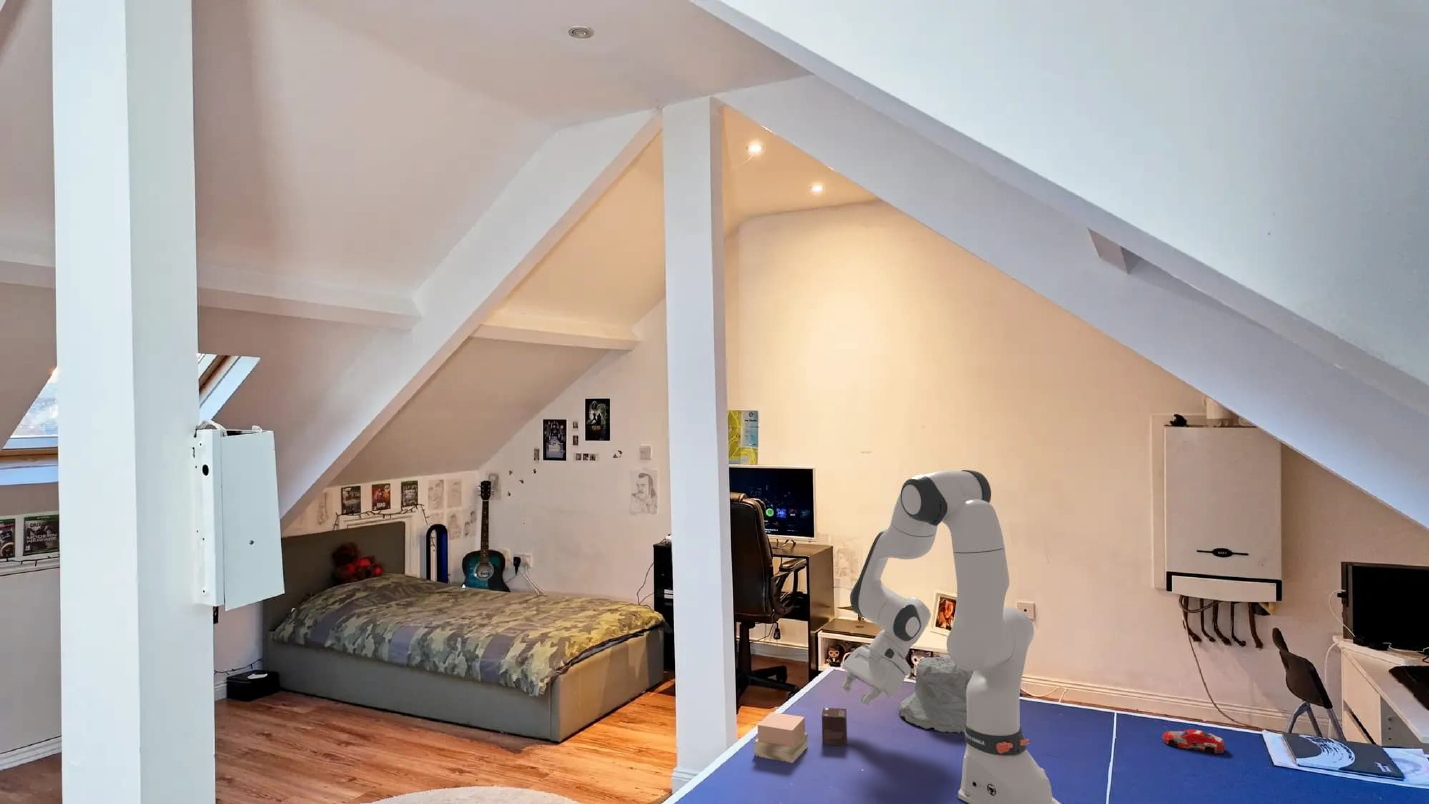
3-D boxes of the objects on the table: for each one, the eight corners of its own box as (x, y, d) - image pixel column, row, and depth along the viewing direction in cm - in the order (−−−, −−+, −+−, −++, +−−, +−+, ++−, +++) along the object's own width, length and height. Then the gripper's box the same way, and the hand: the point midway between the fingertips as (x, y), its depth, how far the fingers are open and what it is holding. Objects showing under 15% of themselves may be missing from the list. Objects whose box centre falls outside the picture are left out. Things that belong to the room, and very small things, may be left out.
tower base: (807, 749, 208) (807, 732, 208) (792, 764, 199) (792, 748, 199) (770, 742, 213) (770, 726, 213) (754, 757, 204) (754, 741, 204)
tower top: (805, 733, 208) (804, 717, 208) (792, 747, 200) (792, 730, 200) (771, 727, 212) (770, 712, 212) (758, 741, 204) (757, 725, 204)
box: (846, 746, 208) (845, 717, 208) (821, 745, 209) (821, 716, 209) (847, 736, 214) (846, 708, 214) (823, 735, 215) (823, 707, 215)
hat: (894, 728, 219) (893, 671, 219) (902, 697, 241) (900, 646, 241) (998, 738, 211) (997, 679, 211) (996, 705, 233) (995, 652, 233)
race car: (1161, 746, 205) (1161, 729, 205) (1163, 738, 209) (1163, 722, 209) (1224, 757, 198) (1223, 740, 198) (1225, 749, 202) (1224, 732, 202)
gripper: (856, 635, 226) (825, 676, 223) (900, 657, 207) (867, 702, 204) (871, 649, 228) (840, 690, 225) (915, 672, 209) (883, 717, 206)
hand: (853, 696), depth 214 cm, fingers open, 8 cm apart
